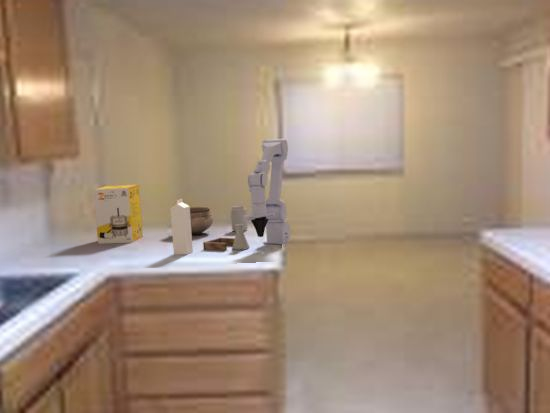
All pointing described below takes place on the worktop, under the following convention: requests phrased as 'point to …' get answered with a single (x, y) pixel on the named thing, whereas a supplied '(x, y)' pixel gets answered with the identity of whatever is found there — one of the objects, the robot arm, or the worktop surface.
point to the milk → (181, 228)
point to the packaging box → (118, 214)
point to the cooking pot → (200, 219)
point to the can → (238, 217)
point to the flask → (240, 239)
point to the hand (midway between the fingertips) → (260, 236)
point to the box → (218, 244)
